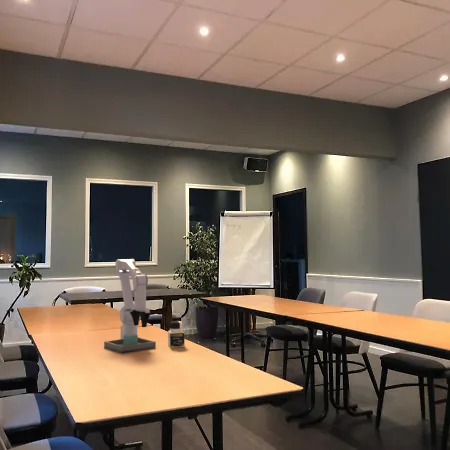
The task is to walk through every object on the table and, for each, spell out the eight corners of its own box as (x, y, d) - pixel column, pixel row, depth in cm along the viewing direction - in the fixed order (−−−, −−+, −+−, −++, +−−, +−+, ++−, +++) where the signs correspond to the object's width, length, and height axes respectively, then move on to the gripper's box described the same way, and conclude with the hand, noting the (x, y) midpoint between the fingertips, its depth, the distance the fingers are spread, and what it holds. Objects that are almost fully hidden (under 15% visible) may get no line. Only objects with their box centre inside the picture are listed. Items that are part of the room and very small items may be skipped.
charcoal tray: (104, 347, 225) (104, 341, 225) (136, 342, 237) (136, 336, 237) (122, 353, 211) (122, 346, 212) (155, 347, 223) (155, 341, 223)
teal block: (123, 345, 225) (123, 335, 225) (132, 344, 228) (132, 333, 228) (128, 347, 221) (128, 336, 221) (137, 345, 224) (137, 335, 224)
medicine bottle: (170, 347, 223) (170, 322, 224) (167, 345, 230) (167, 320, 231) (184, 346, 225) (184, 322, 226) (182, 344, 232) (181, 320, 233)
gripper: (125, 298, 234) (125, 325, 233) (140, 300, 223) (140, 328, 223) (138, 297, 239) (138, 323, 238) (153, 299, 228) (153, 327, 227)
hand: (140, 326), depth 231 cm, fingers open, 7 cm apart
